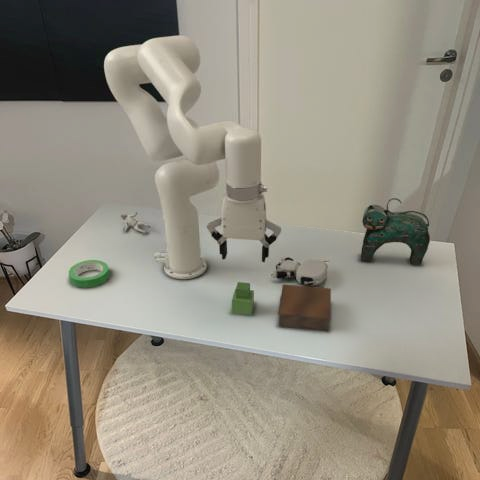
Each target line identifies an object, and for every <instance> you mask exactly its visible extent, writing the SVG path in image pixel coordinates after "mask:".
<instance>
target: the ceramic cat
mask: <svg viewBox="0 0 480 480" xmlns="http://www.w3.org/2000/svg"><path fill="white" fill-rule="evenodd" d="M393 200H395V201H398V202H399V203H400V204H402V201H401V199H399V198H398V197H397V198H396V197H392V198H390V199H388V201H387V203H386V208H384V207H383V206H382V205H378V204H370V205H369V206H367V207H366V208H365V209H364V212H363V215H362V220H361V222H362V225H363V227H364V228H365V229H366V230H365V233H364V236H363V240H362V246H361V250H360V251H361V253H360V260H361V262H364V263H365V262H367V263H370V262H372V260H373V258H374V256H375V253H376V252H377V250H379V248H381V247H382V246H383V245H386V244H389V243H400V244H401V243H402V244H405V245H406V246H408V247H409V249H410V254H409V258H408V260H409V264H410V265H412V266H420V265H422V262H423V260H424V257H425V256H426V253H427V252H428V248H429V245H430V241H431V236H430V233H429V226H430V221H429V218H428V217H427V215H426V214H425V213H422V212H420V211H416V210H405V211H393V212H392V211H390V210H389V203H390V202H391V201H393ZM420 215H421V216H423V217H421V216H420ZM423 218H424V219H426V221H427V223H426V221H425V220H424V219H423Z"/></svg>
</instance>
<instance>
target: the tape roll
mask: <svg viewBox="0 0 480 480" xmlns="http://www.w3.org/2000/svg"><path fill="white" fill-rule="evenodd" d="M89 271H98V272H99V273H97V274H95V275H90V276H79V275H81V274H82V273H84V272H89ZM68 277H69V280H70V284H72V285H73V286H74V287H77V288H81V289H87V288H89V289H90V288H94V287H95V288H96V287H98V286H101V285H103V284H104V283H106V282H108V281H109V279H110V277H111V273H110V268H109V265H108V264H107V262H104V261H102V260H99V259H88V260H87V259H86V260H82V261H79V262H77V263H75V264H74V265H72V266H71V267H70V268H69V269H68Z"/></svg>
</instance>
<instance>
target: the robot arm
mask: <svg viewBox="0 0 480 480" xmlns="http://www.w3.org/2000/svg"><path fill="white" fill-rule="evenodd" d="M200 65H201V54H200V51H199V48H198V46H197V44H196V43H195V42H194V40H193V39H192V38H190V37H188V36H187V35H184V34H183V35H179V34H178V35H171V36H161V37H154V38H150V39H147V40H146V41H144V42H143V43H142V44H134V45H133V44H132V45H127V46H120V47H117V48H114V49H112V50H111V51H109V52H108V53H107V55H106V56H105V58H104V61H103V69H104V71H103V72H104V75H105V79H106V83H107V86H108V88H109V90H110V92H111V94H112V95H113V97H114V99H115V101H116V102H117V103H118V104H119V106H120V107H121V108H122V109H123V111H124V112H125V113H126V115H127V117H128V119H129V120H130V122H131V125H132V127H133V129H134V131H135V133H136V136H137V137H138V140H139V142H140V143H141V145H142V147H143V149H144V151H145V153H146V155H147V156H148V158H149V159H150V160H152V161H154V162H164V161H168V160H173V159H176V158H180V157H183V156H184V157H185V158H180V159H177V160H173V161H170V162H167V163H165V164H163V165H161V166H159V168H158V169H157V170H156V172H155V175H154V182H155V187H156V191H157V193H158V197H159V201H160V205H161V210H162V211H161V212H162V219H163V226H164V235H165V242H166V243H165V244H166V251H165V252H160V251H159V252H158V251H155V252H154V259H155V262H156V263H160V264H161V263H162V264H163V270H164V273H165V274H166V275H167V276H169V277H170V278H172V279H177V280H191V279H194V278H197V277H200V276H201V275H203V274H204V273H205V272H206V270H207V261H206V259H204V258H203V257H202V256H201V255H202V254H201V241H200V223H199V212H198V209H197V207H196V206H195V205H194V204H193V203H192V202H191V201H190V198H191V197H193V196H195V195H198V194H201V193H205V192H207V191H210V190H212V189H214V188H215V187H217V186H218V184H219V183H220V170H219V167H218V164H217V162H218V161H221V160H225V189H226V192H224V194H223V199H222V205H221V206H222V207H221V217H220V218H217V219H215V220H213V221H210V222H208V223H207V225H206V228H207V230H208V232H209V234H210V235H211V237H212V238H213V239H214V240H215V241H216V242H217V244H218V248H219V249H218V250H219V255H221V260H223V261H224V260H226V258H227V255H228V239H232V240H236V239H237V240H246V241H247V240H250V241H259V242H260V243H261V244H262V246H261V263H265V262H266V259H268V258H269V257H270V256H269V255H270V246H271V245H272V244H273V243H274V242H276V241H277V239H278V237H279V236H280V234H281V233H282V227H281V226H279V225H277V224H276V223H274V222H272V221H270V220H268V219H267V205H266V198H265V194H264V193H268V185H264V184H263V183H262V137H261V134H260V133H259V132H258V131H256V130H254V129H250V128H245V127H244V126H242V125H241V124H240V123H238V122H237V121H235V120H223V121H219V122H214V123H209V124H205V125H201V126H199V125H198V123H197V122H196V121H195V120H194V119H192V118H191V117H188V116H186V114H187V113H188V112H189V111H190V110H191V109H192V108H194V106H195V105H196V104H197V102H198V101H199V99H200V97H201V93H202V86H201V83H200V81H199V80H198V77H196V76H195V75H194V74H196V73H197V72H198V70H199V69H200ZM143 84H144V85H145V84H151V85H153V86H154V88H155V89H156V90H157V92H158V93H159V94H160V96H161V97H162V99H163V100H164V102H166V104H167V105H168V106H167V111H166V115H165V113H164V112H163V110H162V107H161V105H160V103H159V101H158V100H156V98H155V97H154V96H152V94H150V93H149V92H148V91H146V90H145V89H143V88H142V87H141V86H140V85H143ZM219 226H220V227H221V228H220V229H221V233H220V232H219V231H218V230H217V229H216V228H218V227H219ZM267 229H268V230H270V231H271V232H273V233H272V234H270V235H269V236H268V234H267V233H266V232H267Z"/></svg>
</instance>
